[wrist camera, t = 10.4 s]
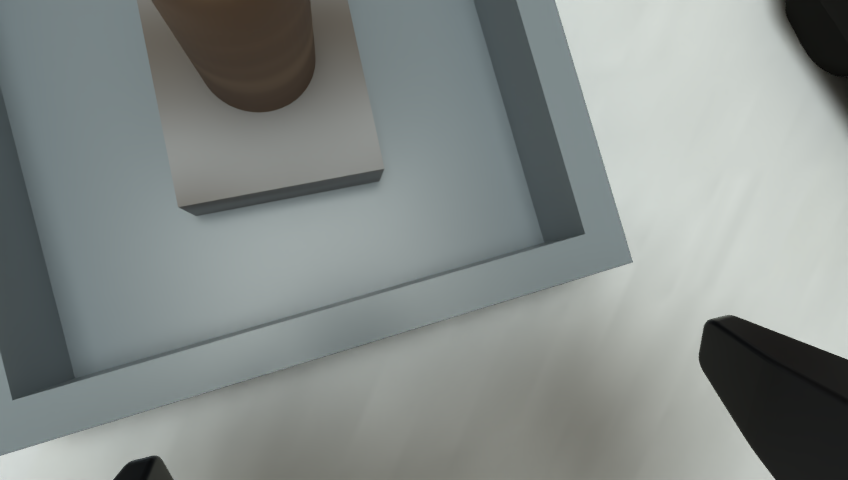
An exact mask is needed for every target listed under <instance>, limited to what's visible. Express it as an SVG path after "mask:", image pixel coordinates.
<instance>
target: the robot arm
mask: <svg viewBox="0 0 848 480" xmlns="http://www.w3.org/2000/svg"><path fill="white" fill-rule="evenodd" d="M699 362H700V365H701V368H702V370H703V372H704V373H705V375H706V377H707V378H708V380H709V381H710V383H711V385H712V386H713V388H714V389H715V391H716V393H717V394H718V396H719V397H720V399H721V401H722V402H723V404H724V405H725V407H726V409H727V410H728V412H729V413H730V415H731V417H732V418H733V420H734V421H735V423H736V425H737V426H738V428H739V429H740V431H741V432H742V434H743V436H744V437H745V439H746V440H747V442H748V443H749V445H750V446H751V448H752V449H753V450H754V452H755V453H756V455H757V456H758V457H759V459H760V460H761V461H762V463H763V464H764V465H765V467H766V468H767V469H768V470H769V472H770V473H771V474H772V476H773V477H774V478H775V480H848V360H847V359H845V358H842V357H839V356H837V355H834V354H832V353H829V352H827V351H824V350H821V349H819V348H816V347H814V346H811V345H808V344H806V343H803V342H801V341H798V340H796V339H793V338H790V337H788V336H785V335H783V334H780V333H777V332H775V331H772V330H770V329H767V328H764V327H762V326H759V325H757V324H754V323H752V322H749V321H746V320H744V319H741V318H739V317H736V316H732V315H726V316H722V317H718V318H713V319H710V320H708V321H707V322H706V323H705V325H704V328H703V334H702V340H701V345H700V351H699ZM113 480H173V478H172V476H171V475H170V473H169V471H168V469H167V467H166V466H165V464H164V462H163V461H162V459H161V458H160V457H158V456H150V457H146V458H142V459H138V460H134V461H131V462H129V463H128V464H126V465H125V466H124V467H123V469H122V470H121V471H120V472H119V473H118V475H117V476H116V477H115V478H114V479H113Z"/></svg>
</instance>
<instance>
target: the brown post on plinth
mask: <svg viewBox="0 0 848 480" xmlns="http://www.w3.org/2000/svg"><path fill="white" fill-rule="evenodd" d="M137 4H138V9H139V14H140V19H141V24H142V29H143V34H144V39H145V44H146V49H147V54H148V59H149V64H150V69H151V74H152V79H153V84H154V89H155V94H156V99H157V104H158V109H159V114H160V119H161V124H162V129H163V134H164V139H165V144H166V149H167V154H168V159H169V165H170V170H171V175H172V180H173V185H174V190H175V195H176V200H177V205H178V207H179V208H181V209H183V210H185V211H187V212H189V213H191V214H193V215H195V216H199V215H205V214H210V213H215V212H220V211H226V210H231V209H236V208H241V207H247V206H252V205H257V204H262V203H268V202H273V201H278V200H283V199H289V198H294V197H299V196H304V195H310V194H315V193H320V192H325V191H331V190H336V189H341V188H346V187H352V186H357V185H362V184H368V183H373V182H378V181H380V179H381V176H382V174H383V171H384V169H385V168H384V164H383V159H382V155H381V150H380V146H379V141H378V136H377V132H376V127H375V123H374V118H373V114H372V109H371V105H370V100H369V95H368V91H367V86H366V82H365V77H364V73H363V68H362V63H361V59H360V54H359V50H358V45H357V41H356V36H355V32H354V27H353V22H352V18H351V13H350V9H349V4H348V0H137Z"/></svg>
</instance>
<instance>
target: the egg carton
mask: <svg viewBox="0 0 848 480" xmlns="http://www.w3.org/2000/svg"><path fill="white" fill-rule="evenodd" d="M786 14H787V17H788V20H789V22H790V24H791V26H792V28H793V29H794V31H795V33H796V35H797V37H798V39H799V41H800V43H801V44H802V46H803V48H804V49H805V51H806V52H807V54H808V55H809V57H810V58H811V59H812V60H813V61H814V62H815V63H816V64H817V65H818V66H819V67H820V68H822V69H823V70H825V71H826V72H828V73H830V74H832V75H835V76H842V77H843V76H848V0H786Z"/></svg>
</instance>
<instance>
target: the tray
mask: <svg viewBox="0 0 848 480" xmlns="http://www.w3.org/2000/svg"><path fill="white" fill-rule="evenodd" d="M348 4H349V9H350V13H351V18H352V22H353V27H354V32H355V36H356V41H357V45H358V50H359V54H360V59H361V63H362V68H363V73H364V77H365V82H366V86H367V91H368V95H369V100H370V105H371V109H372V114H373V118H374V123H375V127H376V132H377V136H378V141H379V146H380V150H381V155H382V159H383V164H384V168H385V169H384V171H383V174H382V176H381V179H380V181H378V182H373V183H368V184H362V185H357V186H352V187H346V188H341V189H336V190H331V191H325V192H320V193H315V194H310V195H304V196H299V197H294V198H289V199H283V200H278V201H273V202H268V203H262V204H257V205H252V206H247V207H241V208H236V209H231V210H226V211H220V212H215V213H210V214H205V215H199V216H195V215H193V214H191V213H189V212H187V211H185V210H183V209H181V208H179V207H178V205H177V200H176V195H175V190H174V185H173V180H172V175H171V170H170V165H169V159H168V154H167V149H166V144H165V139H164V134H163V129H162V124H161V119H160V114H159V109H158V104H157V99H156V94H155V89H154V84H153V79H152V74H151V69H150V64H149V59H148V54H147V49H146V44H145V39H144V34H143V29H142V24H141V19H140V14H139V9H138V4H137V0H0V456H1V455H4V454H8V453H11V452H14V451H17V450H21V449H24V448H27V447H30V446H34V445H37V444H40V443H44V442H47V441H50V440H53V439H57V438H60V437H63V436H66V435H70V434H73V433H76V432H80V431H83V430H86V429H89V428H93V427H96V426H99V425H102V424H106V423H109V422H112V421H115V420H119V419H122V418H125V417H129V416H132V415H135V414H138V413H142V412H145V411H148V410H151V409H155V408H158V407H161V406H165V405H168V404H171V403H174V402H178V401H181V400H184V399H187V398H191V397H194V396H197V395H200V394H204V393H207V392H210V391H214V390H217V389H220V388H223V387H227V386H230V385H233V384H236V383H240V382H243V381H246V380H250V379H253V378H256V377H259V376H263V375H266V374H269V373H272V372H276V371H279V370H282V369H285V368H289V367H292V366H295V365H299V364H302V363H305V362H308V361H312V360H315V359H318V358H321V357H325V356H328V355H331V354H335V353H338V352H341V351H344V350H348V349H351V348H354V347H357V346H361V345H364V344H367V343H370V342H374V341H377V340H380V339H384V338H387V337H390V336H393V335H397V334H400V333H403V332H406V331H410V330H413V329H416V328H420V327H423V326H426V325H429V324H433V323H436V322H439V321H442V320H446V319H449V318H452V317H455V316H459V315H462V314H465V313H469V312H472V311H475V310H478V309H482V308H485V307H488V306H491V305H495V304H498V303H501V302H505V301H508V300H511V299H514V298H518V297H521V296H524V295H527V294H531V293H534V292H537V291H540V290H544V289H547V288H550V287H554V286H557V285H560V284H563V283H567V282H570V281H573V280H576V279H580V278H583V277H586V276H590V275H593V274H596V273H599V272H603V271H606V270H609V269H612V268H616V267H619V266H622V265H625V264H629V263H632V262H633V261H632V258H631V254H630V251H629V248H628V244H627V241H626V238H625V234H624V231H623V227H622V224H621V221H620V217H619V214H618V211H617V207H616V204H615V201H614V197H613V194H612V191H611V187H610V184H609V181H608V177H607V174H606V170H605V167H604V164H603V160H602V157H601V154H600V150H599V147H598V144H597V140H596V137H595V134H594V130H593V127H592V123H591V120H590V117H589V113H588V110H587V107H586V103H585V100H584V97H583V93H582V90H581V87H580V83H579V80H578V77H577V73H576V70H575V66H574V63H573V60H572V56H571V53H570V50H569V46H568V43H567V40H566V36H565V33H564V30H563V26H562V23H561V20H560V16H559V13H558V9H557V6H556V3H555V0H348Z"/></svg>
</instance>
